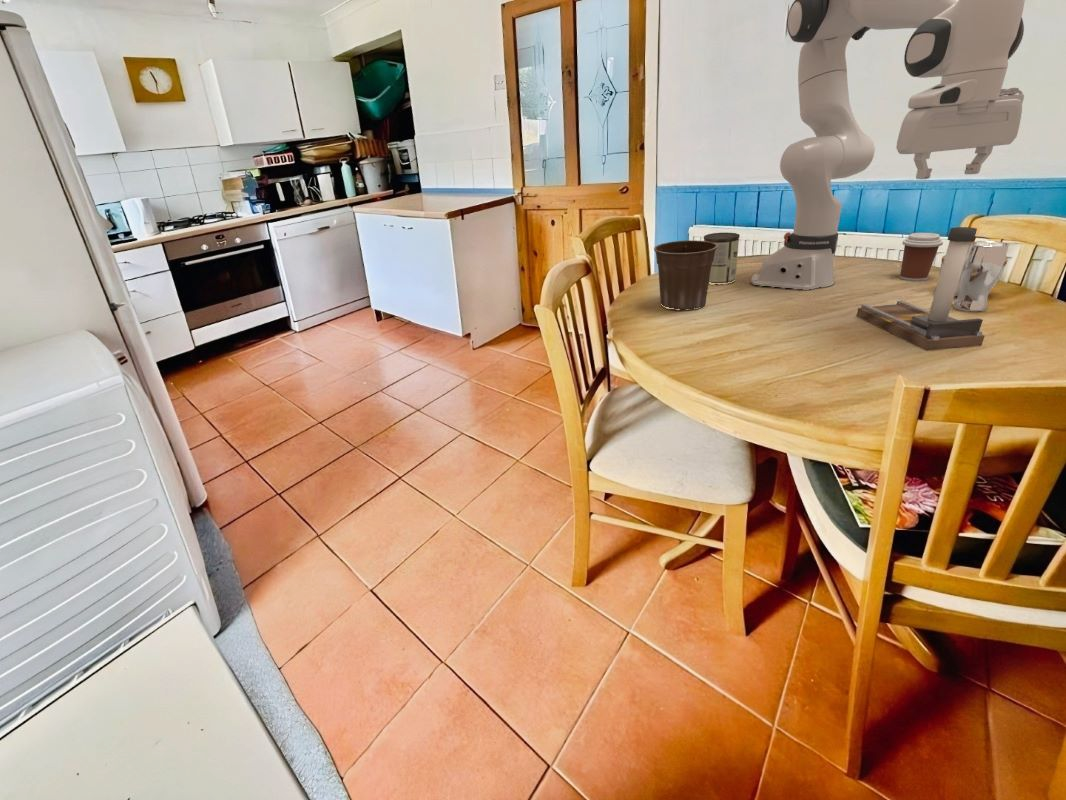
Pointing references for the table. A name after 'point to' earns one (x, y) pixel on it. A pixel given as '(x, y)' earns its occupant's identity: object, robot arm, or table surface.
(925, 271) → the coffee cup
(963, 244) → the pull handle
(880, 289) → the table surface
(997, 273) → the beer glass
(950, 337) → the press bed
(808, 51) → the robot arm
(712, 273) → the coffee can
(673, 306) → the plant pot
